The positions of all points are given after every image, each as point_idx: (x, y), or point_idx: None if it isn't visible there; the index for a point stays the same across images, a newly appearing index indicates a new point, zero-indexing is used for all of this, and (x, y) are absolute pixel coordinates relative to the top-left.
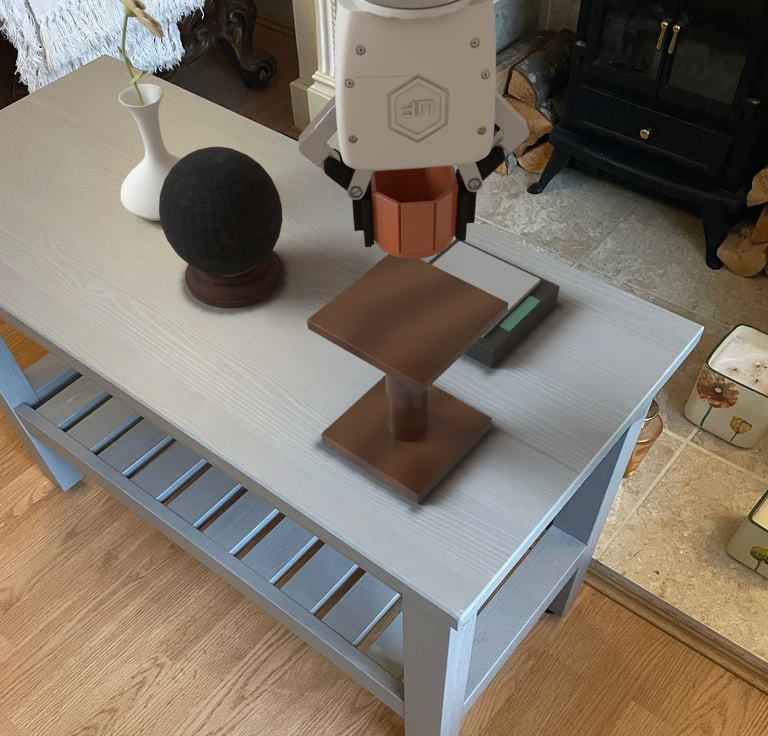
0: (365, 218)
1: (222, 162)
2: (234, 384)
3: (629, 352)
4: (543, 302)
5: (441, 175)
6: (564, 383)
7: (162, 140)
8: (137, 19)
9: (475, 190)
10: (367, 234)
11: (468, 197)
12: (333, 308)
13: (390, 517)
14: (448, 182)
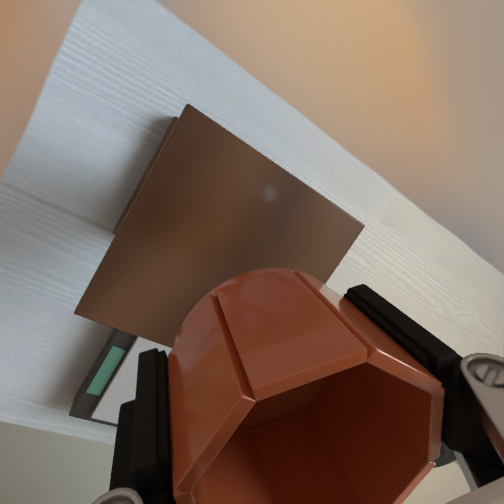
0: (410, 321)
1: (444, 447)
2: (359, 241)
3: None
4: (82, 391)
5: None
6: (43, 301)
7: (455, 461)
8: None
9: (105, 497)
10: (377, 299)
11: (130, 462)
12: (332, 252)
13: (200, 96)
14: (209, 498)
